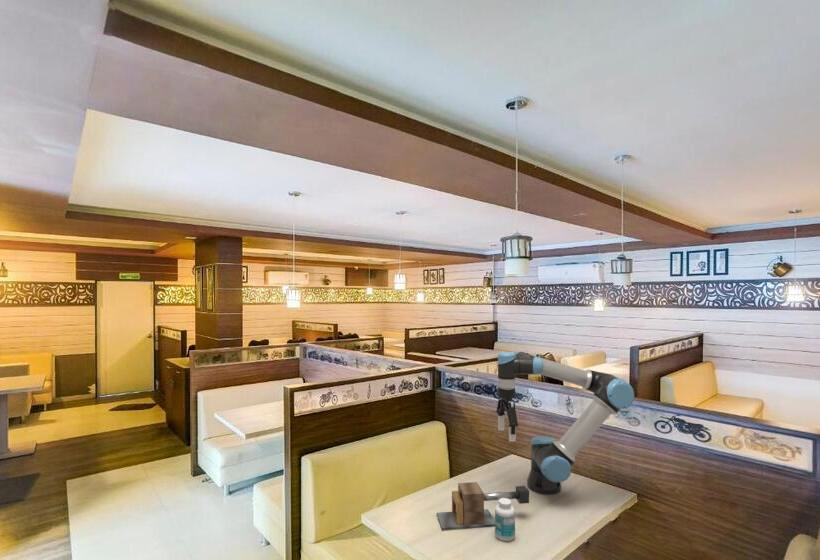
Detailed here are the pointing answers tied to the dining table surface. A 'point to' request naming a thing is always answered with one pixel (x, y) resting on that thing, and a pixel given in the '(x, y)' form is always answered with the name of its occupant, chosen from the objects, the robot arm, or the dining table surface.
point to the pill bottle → (505, 520)
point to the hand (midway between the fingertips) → (506, 435)
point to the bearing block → (468, 510)
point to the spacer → (457, 507)
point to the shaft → (510, 495)
